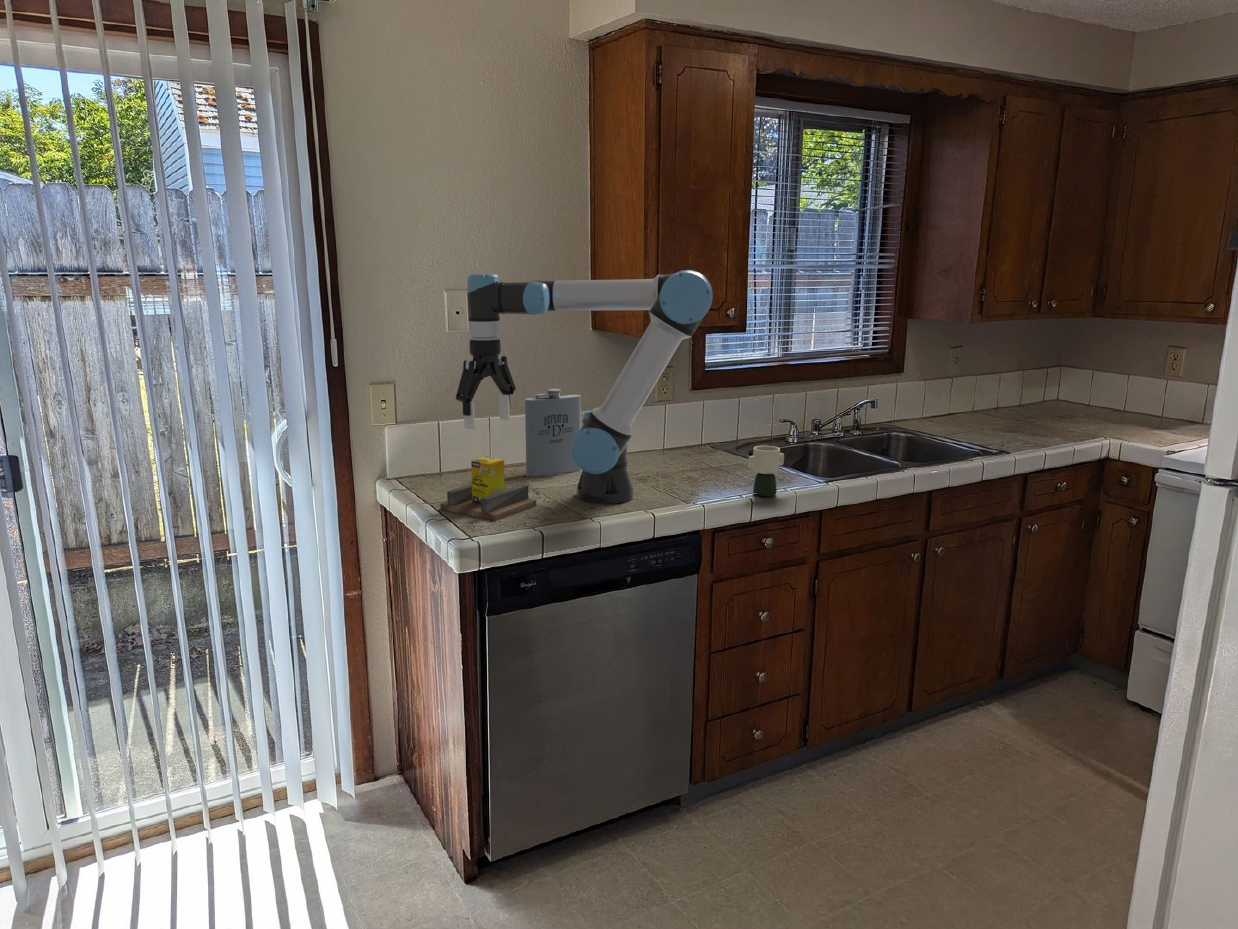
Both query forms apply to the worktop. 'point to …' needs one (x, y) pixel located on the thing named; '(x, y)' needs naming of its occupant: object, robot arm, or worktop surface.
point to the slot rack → (488, 502)
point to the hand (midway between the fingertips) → (487, 424)
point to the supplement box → (486, 477)
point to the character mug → (765, 468)
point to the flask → (551, 432)
